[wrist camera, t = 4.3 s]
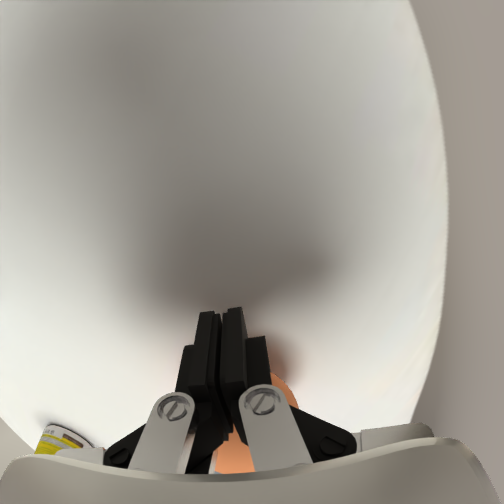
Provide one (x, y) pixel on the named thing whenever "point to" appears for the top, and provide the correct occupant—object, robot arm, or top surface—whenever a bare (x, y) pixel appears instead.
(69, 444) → the supplement bottle
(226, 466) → the ball
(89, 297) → the top surface
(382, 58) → the top surface
